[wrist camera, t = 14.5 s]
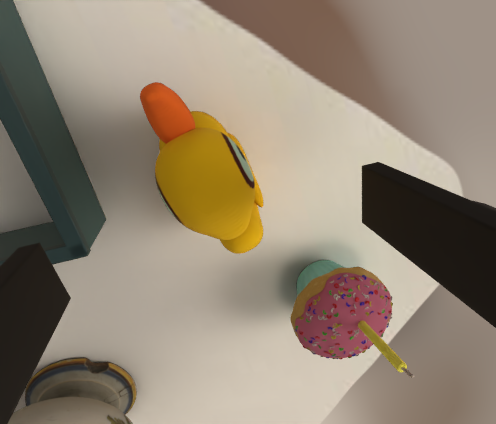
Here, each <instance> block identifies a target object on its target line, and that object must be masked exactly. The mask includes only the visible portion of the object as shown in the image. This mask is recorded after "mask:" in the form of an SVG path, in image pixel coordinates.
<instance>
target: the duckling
mask: <svg viewBox="0 0 496 424" xmlns="http://www.w3.org/2000/svg"><path fill="white" fill-rule="evenodd" d="M140 99H141V102H142V105H143V109H144V111H145V114H146V116H147V119H148V121H149V123H150V124H151V126H152V128H153V130H154V131H155V133H156V134H157V136H158V137H159V138H160V140H159V149H160V153H159V155H158V157H157V161H156V166H155V178H156V183H157V187H158V190H159V193H160V196H161V198H162V200H163V202H164V203H165V205H166V207H167V208H168V210H169V211H170V212H171V213H172V215H173V216H174V217H175V218H176V219H177V220H178V221H179V222H180V223H182V224H183V225H184V226H186V227H187V228H189V229H191V230H193V231H195V232H198V233H201V234H204V235H208V236H211V237H214V238H217V239H220V241H221V243H222V244H223V245H224V247H225V248H226V249H228V250H229V251H231V252H233V253H245V252H247V251H249V250H251V249H253V248H254V247H256V246H257V245H258V244H259V243H260V241H261V239H262V237H263V226H262V223H261V219H260V215H259V211H258V207H257V205H258V206H260V207H263V197H262V193H261V190H260V188H259V185H258V183H257V180H256V178H255V176H254V174H253V171H252V169H251V167H250V164H249V162H248V160H247V157H246V155H245V152H244V150H243V148H242V146H241V145H240V143H239V142H238V140H237V139H236V138H235V137H234V136H233V135H231V134H229V133H227V132H226V130H225V129H224V128H223V126H222V125H221V124H220V123H219V122H218V121H217V120H216V119H215V118H213V117H212V116H210V115H208V114H206V113H203V112H199V111H192V112H190V111H189V109H188V108H187V106H186V105H185V103H184V102H183V101H182V99H181V98H180V97H179V96H178V95H177V94H176V93H175V92H174V91H172V90H171V89H170V88H168V87H166V86H165V85H163V84H161V83H157V82H155V83H151V84H149V85H147V86H146V87H144V88H143V89H142V91H141V93H140Z"/></svg>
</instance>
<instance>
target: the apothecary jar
mask: <svg viewBox="0 0 496 424" xmlns="http://www.w3.org/2000/svg"><path fill="white" fill-rule="evenodd" d="M136 394H137V391H136V385H135V382H134V381H133V379H132V377H131V376H130V375H129V374H128V373H127V372H126V371H125V370H124V369H122V368H121V367H119V366H117V365H115V364H113V363H110V362H103V363H94V362H91V361H90V360H89V359H87V358H76V359H68V360H62V361H59V362H56V363H54V364H51V365H49V366H47V367H45V368H44V369H42V370H41V371H39V372H38V373H37V374H35V375H34V376H33V377H32V379H31V380H30V382H29V384H28V385H27V387H26V391H25V401H26V407H24V408H22V409H20V410H18V411H16V412H14V413H13V414H12V416H11V418H10V420H9V422H8V424H133V423H132V422H131V421H130V419H129V418H128V417H127V416H126V415H125V414H127V413H128V411H129V410H130V409H131V408H132V406H133V404H134V402H135V399H136Z"/></svg>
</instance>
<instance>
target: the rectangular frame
mask: <svg viewBox="0 0 496 424" xmlns="http://www.w3.org/2000/svg"><path fill="white" fill-rule="evenodd" d="M0 119H1V121H2V123H3V125H4V127H5V129H6V131H7V133H8V135H9V137H10V139H11V141H12V142H13V144H14V146H15V148H16V150H17V152H18V154H19V156H20V158H21V160H22V162H23V164H24V166H25V168H26V170H27V171H28V173H29V175H30V177H31V179H32V181H33V183H34V185H35V187H36V189H37V191H38V193H39V195H40V197H41V199H42V200H43V202H44V204H45V206H46V208H47V210H48V212H49V214H50V216H51V218H52V220H53V222H50V223H46V224H41V225H37V226H33V227H28V228H24V229H19V230H15V231H10V232H6V233H2V234H0V266H1V265H2V264H3V263H4V262H5V261H6V260H7V259H8V258H9V257H10V256H11V255H12V254H13V253H14V251H15V250H16V249H17V248H19V247H23V246H27V245H31V244H35V243H40V244H41V246H42V248H43V249H44V251H45V253H46V255H47V257H48V258H49V260H50V262H51V264H56V263H60V262H65V261H69V260H73V259H77V258H81V257H86V256H88V254H89V253H90V251H91V250H90V248H91V246H92V244H93V243H94V241H95V239H96V237H97V235H98V234H99V232H100V230H101V228H102V226H103V225H104V223H105V221H106V218H105V215H104V213H103V211H102V208H101V206H100V204H99V201H98V199H97V197H96V194H95V192H94V190H93V187H92V185H91V182H90V180H89V178H88V175H87V173H86V171H85V168H84V166H83V164H82V161H81V159H80V157H79V154H78V152H77V150H76V147H75V145H74V143H73V140H72V138H71V136H70V133H69V131H68V129H67V126H66V124H65V122H64V119H63V117H62V115H61V112H60V110H59V108H58V105H57V103H56V101H55V98H54V96H53V94H52V91H51V89H50V87H49V84H48V82H47V80H46V77H45V75H44V72H43V70H42V68H41V65H40V63H39V61H38V58H37V56H36V54H35V51H34V49H33V47H32V44H31V42H30V40H29V37H28V35H27V33H26V30H25V28H24V26H23V23H22V21H21V19H20V16H19V14H18V12H17V9H16V7H15V5H14V2H13V0H0Z"/></svg>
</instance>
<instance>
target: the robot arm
mask: <svg viewBox="0 0 496 424" xmlns="http://www.w3.org/2000/svg"><path fill="white" fill-rule="evenodd" d="M362 223H363V224H365V225H366V226H367V227H368V228H370V229H371V230H372V231H374V232H375V233H376V234H377V235H379V236H380V237H381V238H382V239H384V240H385V241H386V242H388V243H389V244H390V245H391V246H393V247H394V248H395V249H396V250H398V251H399V252H400V253H401V254H403V255H404V256H405V257H407V258H408V259H409V260H410V261H412V262H413V263H414V264H415V265H417V266H418V267H419V268H420V269H422V270H423V271H424V272H426V273H427V274H428V275H429V276H431V277H432V278H433V279H434V280H436V281H437V282H438V283H439V284H441V285H442V286H443V287H445V288H446V289H447V290H448V291H450V292H451V293H452V294H454V295H455V296H456V297H457V298H459V299H460V300H461V301H462V302H464V303H465V304H466V305H467V306H469V307H470V308H471V309H472V310H474V311H475V312H476V313H478V314H479V315H480V316H481V317H483V318H484V319H485V320H486V321H488V322H489V323H490V324H491V325H493V326H494V327H495V328H496V208H494V207H492V206H489V205H487V204H484V203H479V202H475V201H471V200H468V199H466V198H464V197H461V196H459V195H456V194H454V193H452V192H449V191H447V190H444V189H442V188H440V187H437V186H435V185H432V184H430V183H428V182H425V181H423V180H420V179H418V178H416V177H413V176H411V175H408V174H406V173H404V172H401V171H399V170H396V169H394V168H392V167H389V166H387V165H384V164H382V163H380V162H377V163H372V164H368V165H364V166H362ZM70 299H71V298H70V296H69V294H68V292H67V291H66V289H65V287H64V285H63V283H62V282H61V280H60V278H59V276H58V274H57V273H56V271H55V269H54V267H53V265H52V264H51V262H50V260H49V258H48V257H47V255H46V253H45V251H44V249H43V248H42V246H41V244H40V243H35V244H31V245H27V246H23V247H19V248H17V249H16V250H15V251H14V253H13V254H12V255H11V256H10V257H9V258H8V259H7V260H6V261H5V262H4V263H3V264H2V265H1V266H0V424H8V422H9V420H10V418H11V416H12V414H13V412H14V410H15V408H16V406H17V404H18V402H19V400H20V398H21V396H22V394H23V392H24V390H25V388H26V386H27V384H28V382H29V380H30V378H31V376H32V374H33V372H34V370H35V368H36V366H37V364H38V362H39V360H40V358H41V356H42V355H43V353H44V351H45V349H46V347H47V345H48V343H49V341H50V339H51V337H52V335H53V333H54V331H55V329H56V327H57V325H58V323H59V321H60V319H61V317H62V315H63V313H64V311H65V309H66V307H67V305H68V303H69V301H70Z"/></svg>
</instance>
